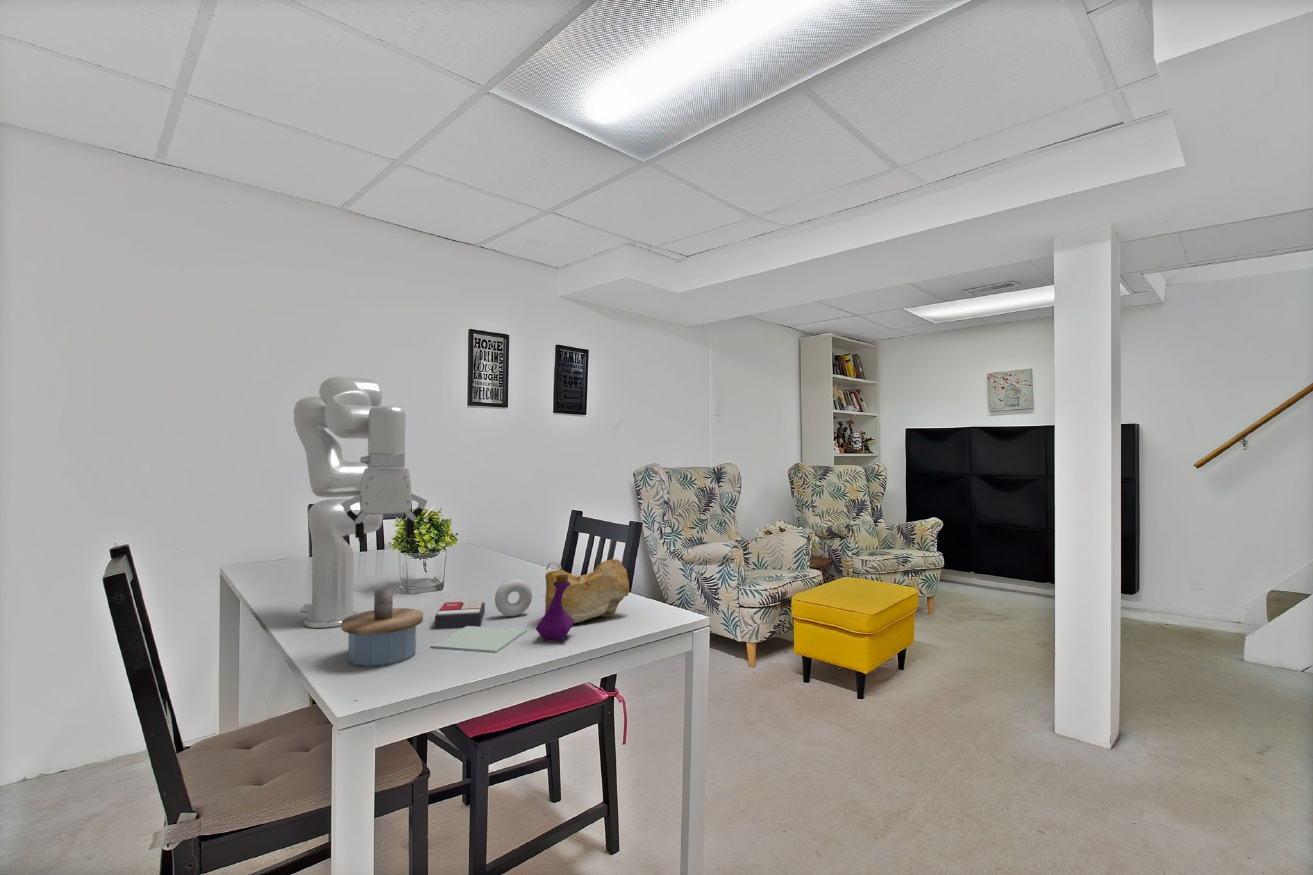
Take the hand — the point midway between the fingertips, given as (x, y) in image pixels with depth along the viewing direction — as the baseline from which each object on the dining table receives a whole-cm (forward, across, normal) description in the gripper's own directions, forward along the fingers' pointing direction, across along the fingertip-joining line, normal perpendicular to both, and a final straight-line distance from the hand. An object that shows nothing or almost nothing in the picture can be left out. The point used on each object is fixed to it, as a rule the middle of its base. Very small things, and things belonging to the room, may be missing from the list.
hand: (384, 539), depth 133 cm
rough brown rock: (+25, +50, +2) cm, 56 cm away
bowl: (+25, 0, -3) cm, 25 cm away
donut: (+25, +34, +12) cm, 44 cm away
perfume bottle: (+24, +36, -12) cm, 45 cm away
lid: (+18, 0, -3) cm, 18 cm away
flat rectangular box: (+26, +21, +16) cm, 37 cm away
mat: (+24, +21, -3) cm, 32 cm away
